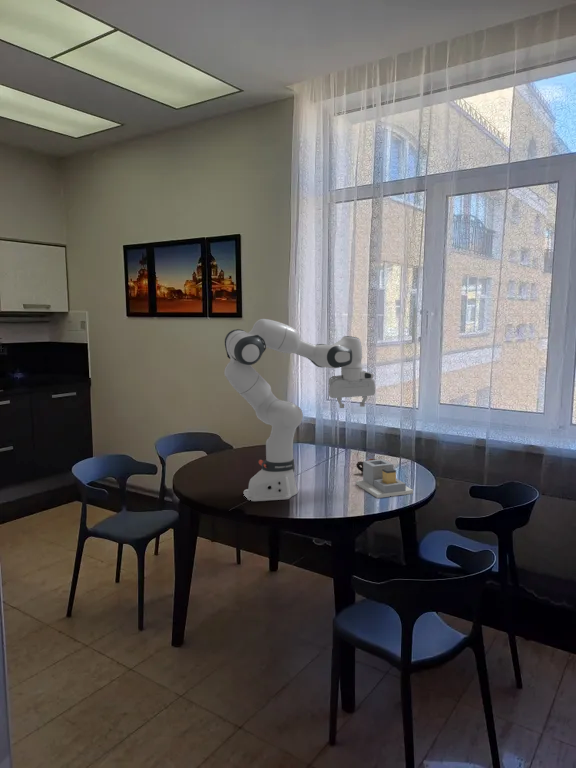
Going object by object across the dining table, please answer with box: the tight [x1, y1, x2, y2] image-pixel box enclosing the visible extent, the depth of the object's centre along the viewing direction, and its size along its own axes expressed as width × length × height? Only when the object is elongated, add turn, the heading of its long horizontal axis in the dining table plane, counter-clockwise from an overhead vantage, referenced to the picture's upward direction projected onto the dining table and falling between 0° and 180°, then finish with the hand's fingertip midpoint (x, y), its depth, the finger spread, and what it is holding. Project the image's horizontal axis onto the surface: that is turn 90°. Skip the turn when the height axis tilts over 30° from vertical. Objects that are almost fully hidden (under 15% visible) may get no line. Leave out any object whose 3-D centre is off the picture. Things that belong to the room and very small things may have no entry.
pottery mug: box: [356, 458, 377, 474], centre depth 243 cm, size 12×10×8 cm
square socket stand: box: [355, 458, 414, 499], centre depth 221 cm, size 16×20×10 cm
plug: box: [382, 468, 397, 484], centre depth 216 cm, size 4×4×8 cm
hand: (352, 407), depth 224 cm, fingers open, 8 cm apart
